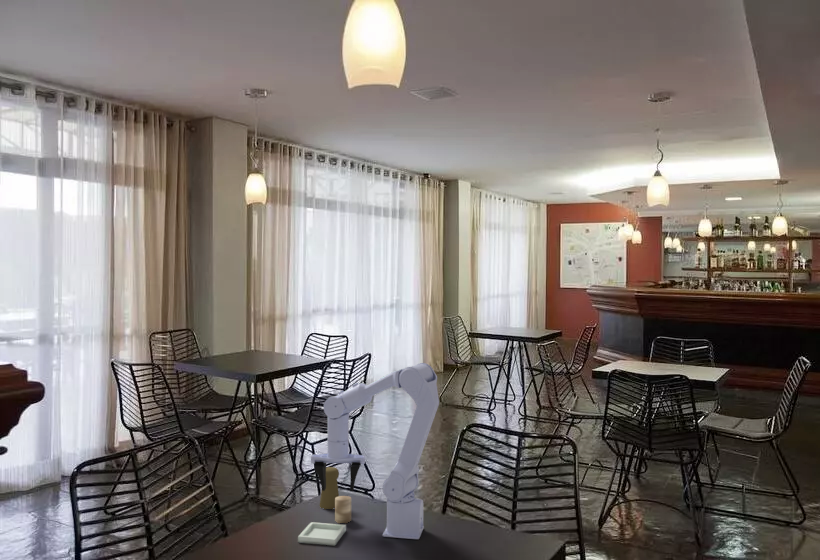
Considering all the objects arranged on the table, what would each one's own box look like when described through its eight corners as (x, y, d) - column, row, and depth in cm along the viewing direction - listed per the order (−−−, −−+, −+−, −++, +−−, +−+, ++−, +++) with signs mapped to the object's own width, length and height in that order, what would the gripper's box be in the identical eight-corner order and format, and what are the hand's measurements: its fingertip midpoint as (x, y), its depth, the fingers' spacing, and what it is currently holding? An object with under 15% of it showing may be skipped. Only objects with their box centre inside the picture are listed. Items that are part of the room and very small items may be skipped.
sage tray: (346, 530, 165) (346, 524, 165) (335, 545, 156) (335, 539, 156) (311, 527, 167) (311, 522, 167) (297, 542, 158) (298, 536, 158)
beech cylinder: (353, 518, 174) (353, 496, 174) (348, 524, 170) (348, 501, 170) (337, 517, 175) (337, 495, 175) (332, 522, 171) (333, 500, 171)
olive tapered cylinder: (338, 509, 181) (339, 471, 181) (317, 509, 181) (317, 470, 181) (341, 502, 187) (341, 465, 187) (321, 502, 187) (321, 464, 187)
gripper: (366, 436, 176) (366, 485, 176) (314, 435, 177) (314, 484, 177) (363, 442, 169) (363, 493, 169) (309, 442, 170) (309, 492, 169)
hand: (337, 489), depth 172 cm, fingers open, 7 cm apart
